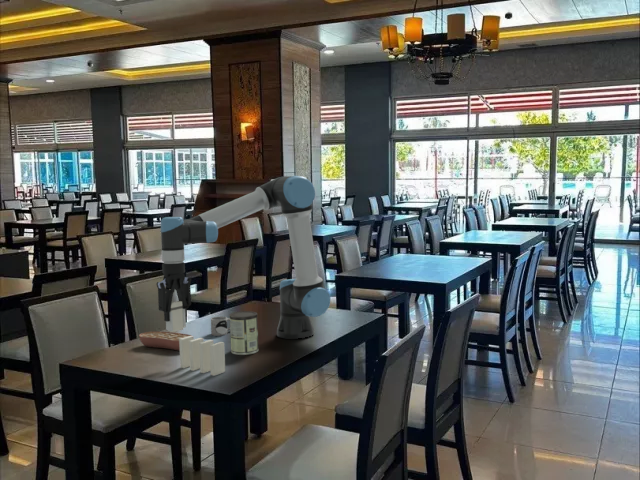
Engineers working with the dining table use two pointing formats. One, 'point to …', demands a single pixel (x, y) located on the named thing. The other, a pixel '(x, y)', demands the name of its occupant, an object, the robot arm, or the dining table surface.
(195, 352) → the domino
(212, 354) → the domino
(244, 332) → the coffee can
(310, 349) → the dining table surface
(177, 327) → the domino
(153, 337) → the brown low oblong piece
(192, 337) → the domino
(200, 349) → the domino
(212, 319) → the mug
